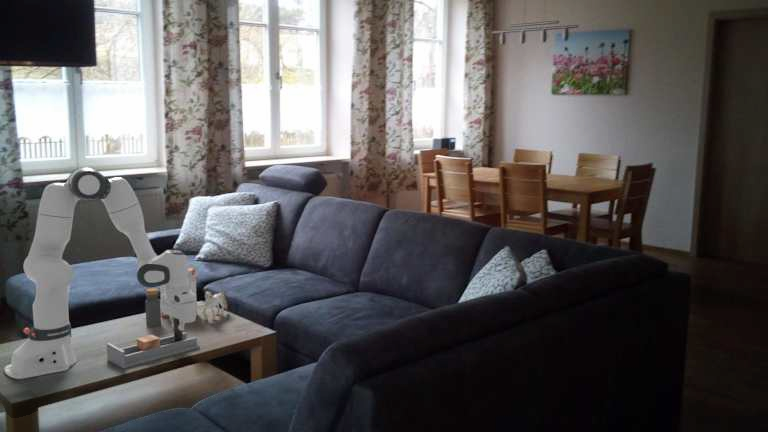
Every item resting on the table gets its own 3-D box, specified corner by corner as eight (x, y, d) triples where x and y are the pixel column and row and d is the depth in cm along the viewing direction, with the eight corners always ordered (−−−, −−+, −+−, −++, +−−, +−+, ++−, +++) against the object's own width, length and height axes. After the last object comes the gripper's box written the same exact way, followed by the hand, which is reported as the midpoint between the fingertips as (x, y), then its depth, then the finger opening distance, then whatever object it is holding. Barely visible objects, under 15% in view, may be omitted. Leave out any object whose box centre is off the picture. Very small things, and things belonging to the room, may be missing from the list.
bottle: (164, 323, 292) (162, 288, 289) (155, 327, 286) (154, 292, 284) (151, 322, 293) (150, 287, 291) (143, 326, 288) (141, 290, 285)
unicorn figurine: (198, 325, 289) (197, 294, 287) (212, 311, 308) (211, 282, 306) (215, 326, 289) (214, 294, 287) (228, 312, 308) (227, 282, 306)
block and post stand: (144, 355, 251) (143, 329, 250) (137, 351, 255) (136, 326, 254) (186, 344, 263) (185, 319, 262) (178, 341, 267) (177, 316, 265)
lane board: (122, 368, 242) (122, 352, 242) (107, 359, 251) (106, 343, 250) (199, 347, 264) (199, 332, 263) (183, 339, 272) (182, 325, 271)
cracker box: (197, 314, 305) (196, 267, 301) (192, 318, 299) (190, 270, 296) (166, 312, 306) (164, 266, 303) (160, 317, 300) (158, 269, 297)
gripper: (155, 289, 266) (156, 324, 268) (183, 300, 252) (184, 337, 254) (170, 286, 270) (171, 320, 272) (198, 296, 256) (199, 333, 258)
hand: (178, 328), depth 263 cm, fingers closed on block and post stand, 3 cm apart
